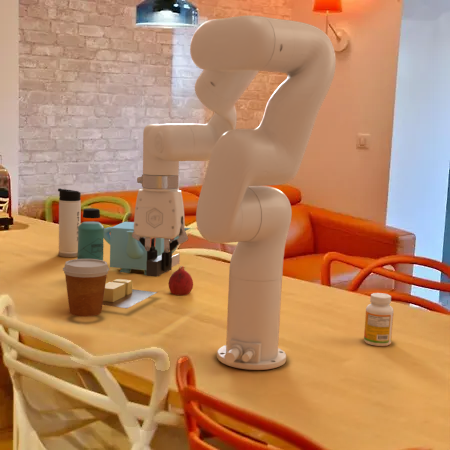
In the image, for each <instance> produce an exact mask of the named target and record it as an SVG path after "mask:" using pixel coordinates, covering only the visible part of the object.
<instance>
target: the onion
mask: <svg viewBox="0 0 450 450" xmlns="http://www.w3.org/2000/svg"><path fill="white" fill-rule="evenodd" d="M185 268H186V267H185V266H184V265H180V266H179V267H178V269H177V270H175V271H174V272H173V273H172V274H171V275H170V276H169V280H168V283H167V284H168V289H169V292H170V293H171V294H172V295H175V296H187V295H189V294H190V293H191V292H192V290H193V287H194V280H193V278H192V276H191V274H190V273H189V272H188V271H186V269H185Z"/></svg>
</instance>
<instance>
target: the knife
mask: <svg viewBox="0 0 450 450" xmlns="http://www.w3.org/2000/svg"><path fill="white" fill-rule="evenodd" d="M180 255H181V254H180V253H176V254H174V255H172V265H171V267H170V269H169V270H167V271H162V255H160V256H158V257H155V258H153V259H150V260H148V261H147V267H146V275H145V276H146V277H153V278H154V277H156V278H157V277H160V276H162V275H164V274H166V273H168V272H170V271H172V269H173V268H174V267H176V266H179V265H180V261H181V260H180V259H181V256H180Z"/></svg>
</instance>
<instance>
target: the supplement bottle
mask: <svg viewBox="0 0 450 450" xmlns="http://www.w3.org/2000/svg"><path fill="white" fill-rule="evenodd" d="M391 303H392V295H390V294H388V293H384V292H383V293H382V292H373V293H371V294H370V303H368V304H367V305H366V307H365V316H364V317H365V319H364V331H363V333H364V334H363V341H364V342H365V343H366V344H367V345H370V346H375V347H376V346H377V347H387V346H389V345H391V343H392V337H393V324H394V323H393V322H394V308H393V306H391V305H390V304H391Z"/></svg>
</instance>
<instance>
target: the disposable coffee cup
mask: <svg viewBox="0 0 450 450" xmlns="http://www.w3.org/2000/svg"><path fill="white" fill-rule="evenodd" d="M62 271H63V273H64V276H65V284H66V294H67V302H68V303H67V304H68V311H69V314H71V316H76V317H94V316H98V315H100V314H102V311H103V305H102V304H103V298H104V291H105V284H106V283H107V277H108V274H109V271H110V267H109V265H108V262H107V261H105V260H104V259H103V260H97V259H77V258H74V259H69V260H67V261H65V263H64V267H62Z"/></svg>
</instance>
